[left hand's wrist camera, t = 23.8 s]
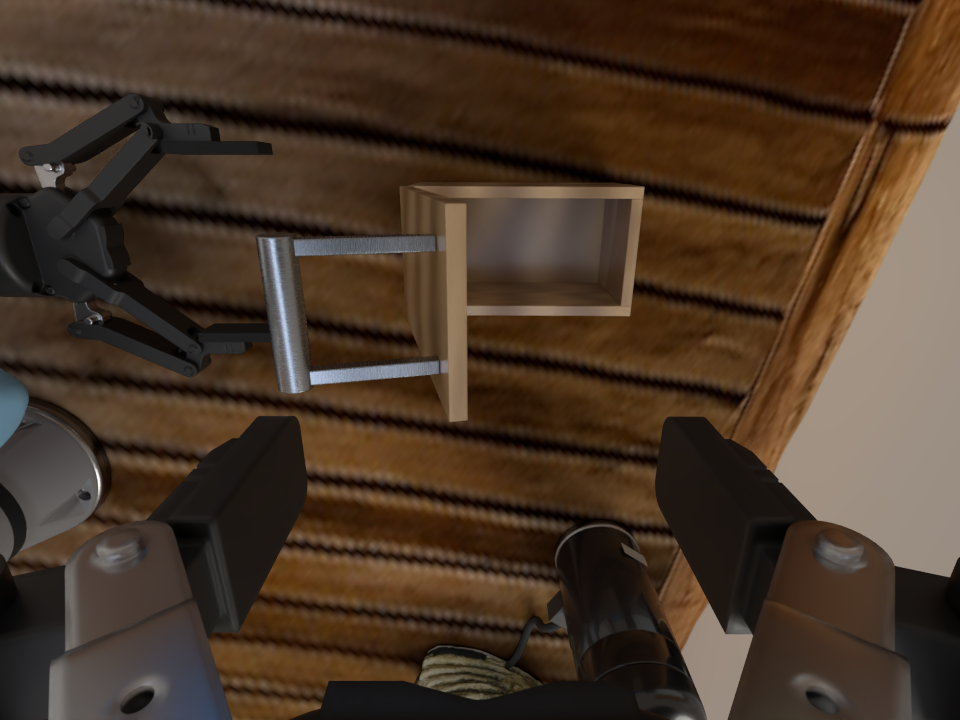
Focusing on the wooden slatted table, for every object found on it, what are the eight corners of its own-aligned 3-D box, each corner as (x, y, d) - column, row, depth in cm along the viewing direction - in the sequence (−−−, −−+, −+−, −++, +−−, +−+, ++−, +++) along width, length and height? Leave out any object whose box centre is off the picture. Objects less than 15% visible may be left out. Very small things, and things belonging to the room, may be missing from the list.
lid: (466, 203, 20) (238, 206, 18) (467, 420, 23) (276, 442, 21) (411, 186, 35) (287, 186, 33) (417, 316, 38) (304, 323, 37)
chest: (613, 182, 44) (644, 186, 36) (603, 289, 47) (630, 316, 39) (420, 181, 44) (406, 185, 36) (424, 288, 47) (412, 315, 39)
